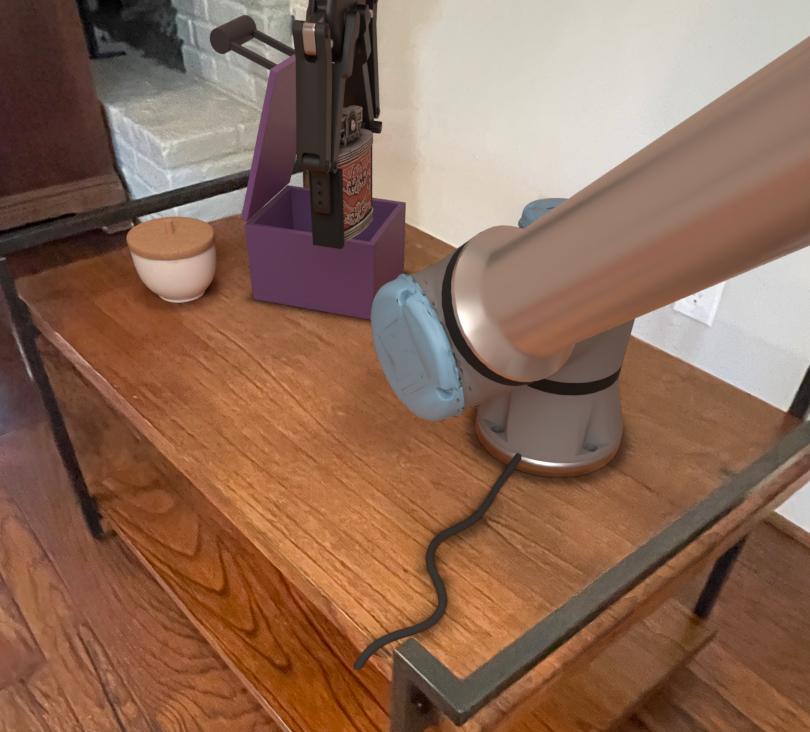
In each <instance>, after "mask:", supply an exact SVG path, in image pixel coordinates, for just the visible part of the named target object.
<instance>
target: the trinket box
mask: <svg viewBox="0 0 810 732" xmlns="http://www.w3.org/2000/svg"><path fill="white" fill-rule="evenodd" d="M126 244H127V248H128V249H129V251H130V255H131V256H130V257H131V260H132V263H133V265H134V268H135V271H136V273H137V275H138V277H139V278H140V280H141V281H142V283H143V284H144V286H146V287H147V288H148V289H149V290H150V291H151V292H153V293H154V294H155V295H157V296H158V297H159V298H160V299H162V300H163V301H166V302H169V303H176V304H179V303H181V304H182V303H188V302H192V301H196V300H197V299H200V298H201V297H202V296H204V294H205V293H206V291H207V289H208V288H209V287H210V285H211V283H213V280H214V277H215V275H216V271H217V261H218V260H217V259H218V258H217V247H216V234H215V230H214V228H213V226H211V224H210V223H208V222H206V221H204V220H201V219H199V218H195V217H189V216H163V217H156V218H152V219H148V220H147V221H143V222H140V223H139V224H137V225H135V226H133V227H132V228H131V229H130V230H129V231H128V232H127V234H126Z"/></svg>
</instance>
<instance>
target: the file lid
mask: <svg viewBox="0 0 810 732" xmlns="http://www.w3.org/2000/svg"><path fill="white" fill-rule="evenodd" d="M257 28H258V27H257V24H256V21H255V20H254V19H253V17H251V16H250V15H248V14H243V15H240V16H238V17H236V18H234V19H231V20H229V21H227V22H225V23H223V24H221V25H218V26H217V27H215V28H213V29H212V30H211V31H210V33H209V43H210V46H211V48H212V49H213V50H214V52H216V53H218V54H220V55H225V54H227V53H229V52H231V51H232V52H234V53H236V54H237V55H240V56H242V57H243V58H245V59H248V60H249V61H251V62H253V63H254V64H257V65H259V66H260V67H263V68H265V69H267V70H268V71H269V73H268V77H267V78H268V79H267V84H266V89H265V93H264V98H263V99H264V100H263V103H262V104H263V105H262V109H261V115H260V119H259V124H258V130H257V134H256V139H255V144H254V150H253V156H252V160H251V166H250V170H249V175H248V180H247V186H246V191H245V196H244V201H243V206H242V211H241V215H240V220H241V221H242V222H245V223H247V222H248V221H249V220H250V219H251V218H252V217H253V216H255V215H256V214H257V213H258V212H259V211H260V210H261V209H262V208H263V207H264V206H265V205H267V204H268V203H269V202H270V201H271V200H272V199H273V198H274V197H275V196H276V195H277V194H278V193H280V192H281V191H282V190H283V189H284V188H285V187H286V186H287V185H290V183H291V179H292V175H293V171H294V166H295V164H296V160H297V148H296V58H295V49H294V47H290V46H289V45H287V44H286V43H283V42H282V41H279V40H278V39H275V38H274V37H271V36H270V35H268V34H266V33H264V32H262V31H261V30H258V29H257ZM253 39H256V40H257V41H260V42H261V43H264V44H265V45H267V46H269V47H271V48H273V49H275V50H276V51H279V52H280V53H283V54H284V55H287V58H286V59H283V60H282V61H281V62H279V63H278V64H277V63H275V62H274V61H271V60H270V59H268V58H266V57H264V56H262V55H260V54H258V53H256V52H255V51H252V50H251V49H249V48H247V47H245V46H243V45H244V44H246V43H248V42H250V41H251V40H253Z"/></svg>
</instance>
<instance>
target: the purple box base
mask: <svg viewBox="0 0 810 732" xmlns="http://www.w3.org/2000/svg"><path fill="white" fill-rule="evenodd" d="M372 208H373V220H372V221H371V223H370V224H369V225H368V226H367V227H366V228H365V229H364V230H363V231H362V232H361V233H359V234H358V235H356V236H355V237H353V238H351V239H350V240H348V241H346V242H344V247H343V248H342V249H337V248H330V247H323V246H317V245H313V238H312V220H311V203H310V188H304V187H303V186H296V185H290V184H288V185H287V186H285V187H284V188H283V189H282V190H281V191H280V192H279V193H278V194H277V195H276V196H275V197H273V198H272V199H271V200H270V201H269V202H268V203H267V204H266V205H265V206H264V207H263V208H261V209H260V210H259V211H258V212H257V213H256V214H255V215H254V216H253V217H252V218H251V219H249V220H248V221H247V222H245V224H244V226H243V227H244V235H245V242H246V250H247V258H248V267H249V274H250V282H251V290H252V298H253V300H256V301H262V302H268V303H273V304H279V305H285V306H290V307H296V308H301V309H307V310H312V311H318V312H324V313H328V314H329V313H330V314H335V315H341V316H348V317H351V318H352V317H353V318H357V319H363V320H370V321H371V309H372V304H373V300H374V298H375V296H376V293H377V292H378V290H379V289H380V288H381V287H382V286H383V285H385V284H386V283H388V282H390V281H393V280H395V279H397V277H398V276H399V275H401V274H405V247H406V246H405V245H406V243H405V242H406V241H405V240H406V214H407V213H406V212H407V211H406V210H407V209H406V208H407V202H406V201H398V200H393V199H386V198H385V199H384V198H378V197H372Z"/></svg>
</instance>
